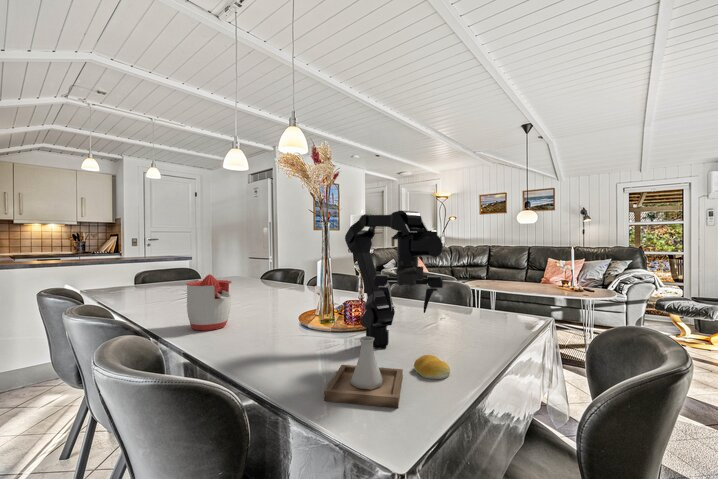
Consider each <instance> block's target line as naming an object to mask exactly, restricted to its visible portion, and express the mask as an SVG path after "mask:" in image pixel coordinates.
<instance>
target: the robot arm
mask: <svg viewBox="0 0 718 479" xmlns="http://www.w3.org/2000/svg"><path fill="white" fill-rule="evenodd" d="M376 227H379V228H380V227H381V228H382V227H384V228H387V227H388V228H390V229H391V230H394V231H397V232H396V233H395V234H394V235H393V236H392V240H397V257H396V258H397V260H396V262H397V267H396V270H395V271H396V272H395V273H396V274H395V275H396V276H395V277H392V276H390V275H389V274H386V273H385V274H383V273H382V274H381V273H380V274H379V273H377V271H376V270H377V269H376V267H375V265H374V264H375V263H374V261H373V257H372V254H371V249H372V246H373V242H372V241H373V240H372V239H373V238H374V237H375V236H376ZM365 228H368V229H367V230H366V229H365ZM344 240H345V243H346V246H347V248H348V251H350V253H352V254H353V255H354V256H355V259H356V261H357V265H358V269H359V272H360V273H359V274H360V275H361V279H362V282H363V285H364V289H365V292H366V296H367V298H366V302H365V304H364V306H365V307H364V308H365V312H364V313H363V315H362V316H361V318H360V324H361V325H360V326H361V327H364V328H365V336H367V337H373V338H374V341H373V349H380V350H381V349H382V350H384V349H386V348H387V346H388V345H389V342H390V340H389V339H390V336H389V335H390V331H389V329H388V326H392V325H393V322H394V318H395V314H396V312H395V308H396V306H395V305H394V303H393V299H392V290H391V285H390V284H392V285H395V284H396V285H399V286H404V285H405V286H407V285H408V286H410V287H411V286H416V285H426V287H425V294H424V301H423V302H424V303H423V314H425V313H426V312H427V308H428V305H429V302H430V299H431V297H432V295H433V293H434V292H438V290H439V289H441V288H443V287H444V286H443V285H444V284H443V278H442V276H440V275H431V274H429V275H427V277H424V266H419V257H423V258H424V257H426V258H437V257H439V256H440V255H441V254H442V252H443V248H444V245H443V244H444V243H443V241H442V239H441V237H439V235H438V231H437V230H429V229H428V227H427V226H426V223H425V221H424V220H423V218H422V216H421V214H420V212H419V211H413V210H401V209H400V210H397V211H394V212H391V214H365V213H364V214H363V215H361V216H360V218H359V219H358V220H357V221H355V223H353V224H352V225H351V226H350V227H349V228H348V229H347V231H346V234H345V236H344Z"/></svg>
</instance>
